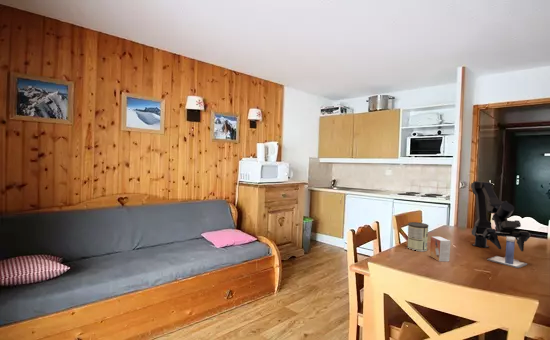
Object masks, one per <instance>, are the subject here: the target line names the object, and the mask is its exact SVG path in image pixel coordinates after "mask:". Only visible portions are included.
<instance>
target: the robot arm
mask: <svg viewBox="0 0 550 340" xmlns="http://www.w3.org/2000/svg"><path fill="white" fill-rule="evenodd" d="M470 188H471V192H472V193H473V195H474V196H475V202H476V203H475V204H476V214H477V215H476V218H477V220H476V221H475V222H474V226H473V228H472V230H471V235H472V236H474V238H475V239H474V243H472V246H475V247H478V248H483V249H485V248H489V245H488V244H487V241H490V242H491V243H492V244H493V245H495V247H497V248H498V249H499V250H500V251H501V249H502V245H501V243H500V241H499V238H498V237H503V238H506V236H512V237H515V241H516V244H517V245H518V248H519V251H521V252H524V248H525V242H527V241H528V240H529V239H530V238H531V233H530V232H529V231H527V230H526V231H525V230H518V232H517V233H516V232H515V229H517V228H521V227H522V225H521V221H520V220H508V218H509V217H510V216H511V215H512V214H513V213H514V211H515V210H516V209H515V206H514V205H513V204H512V203H509V202H508V201H507V200H505V201H504V200H503V201H502V200H501V199H500V198H498V196H497V195H496V193H495V191H494V188H493V185H492V182H490V181H479V180H477V181H476V180H475V181H473V182H472V183H471V184H470ZM486 200H487V201H486ZM487 212H489V213H490V214H492V217H491V220H492V221H493V222H494V225H495V226H494V228H492V223H491V221H489V220H488V216H487V215H488V214H487ZM513 232H515V233H513Z"/></svg>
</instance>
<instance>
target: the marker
mask: <svg viewBox="0 0 550 340" xmlns="http://www.w3.org/2000/svg"><path fill="white" fill-rule="evenodd" d="M505 241H506V242H505V243H506V244H505V256H504V257H505V263H507V264H513V261H514V259H515V256H514V255H515V246H516V245H515V243H516V238H515V237H512V236H506V237H505Z"/></svg>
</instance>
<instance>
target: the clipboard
mask: <svg viewBox="0 0 550 340" xmlns="http://www.w3.org/2000/svg"><path fill="white" fill-rule="evenodd" d="M486 260H487V261H489V262H493V263H496V264H501V265H505V266H508V267H512V268H516V269H521V268H522V267H525V266H527V265H528V263H527V262H522V261H519V259H515V258H514V261H513V264H507V263H505V256H504V257H502V256H499V255H495V256H492V257H489V258H486Z"/></svg>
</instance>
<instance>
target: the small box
mask: <svg viewBox="0 0 550 340" xmlns="http://www.w3.org/2000/svg"><path fill="white" fill-rule="evenodd" d="M429 244H430V246H429V257H431V258H433V259H435V260H436V261H438V262H450V256H451V244H452V242H451V240H450V239H447V238H444V237H442V236H430V243H429Z"/></svg>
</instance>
